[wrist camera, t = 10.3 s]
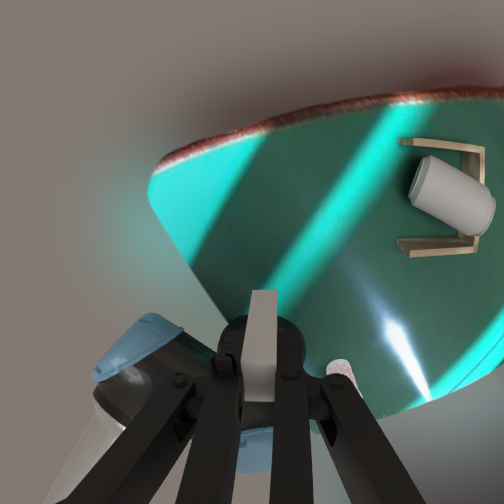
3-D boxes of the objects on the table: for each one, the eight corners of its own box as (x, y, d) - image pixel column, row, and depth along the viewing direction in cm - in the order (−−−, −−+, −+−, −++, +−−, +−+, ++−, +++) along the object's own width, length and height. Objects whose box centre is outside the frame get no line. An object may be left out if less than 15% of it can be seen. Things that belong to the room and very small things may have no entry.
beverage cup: (315, 368, 49) (321, 428, 36) (341, 350, 47) (354, 410, 34) (335, 382, 50) (343, 439, 37) (359, 366, 48) (374, 423, 35)
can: (403, 204, 36) (469, 240, 32) (410, 199, 30) (486, 243, 26) (419, 158, 34) (484, 195, 30) (428, 145, 28) (504, 190, 24)
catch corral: (460, 241, 37) (476, 252, 33) (396, 245, 39) (409, 257, 34) (466, 145, 32) (484, 147, 27) (398, 138, 33) (413, 137, 29)
